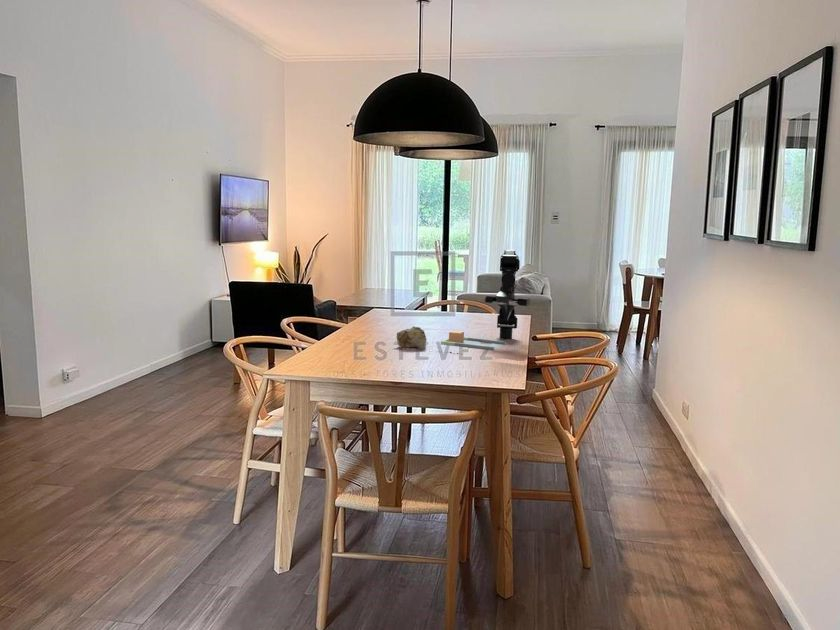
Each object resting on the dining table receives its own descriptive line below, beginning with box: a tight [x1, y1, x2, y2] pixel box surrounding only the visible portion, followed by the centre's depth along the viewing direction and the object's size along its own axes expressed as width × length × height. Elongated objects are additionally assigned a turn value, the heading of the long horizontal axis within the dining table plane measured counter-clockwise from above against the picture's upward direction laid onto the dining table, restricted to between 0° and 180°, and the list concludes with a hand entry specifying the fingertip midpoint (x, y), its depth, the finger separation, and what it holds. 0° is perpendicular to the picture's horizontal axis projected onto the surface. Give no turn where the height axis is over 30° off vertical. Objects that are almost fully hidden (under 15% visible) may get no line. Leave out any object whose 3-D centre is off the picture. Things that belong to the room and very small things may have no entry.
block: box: [448, 330, 465, 343], centre depth 273 cm, size 5×5×4 cm
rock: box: [396, 326, 428, 350], centre depth 268 cm, size 12×7×10 cm, turn 74°
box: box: [440, 336, 506, 351], centre depth 271 cm, size 15×24×3 cm, turn 63°
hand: (506, 320), depth 270 cm, fingers closed
